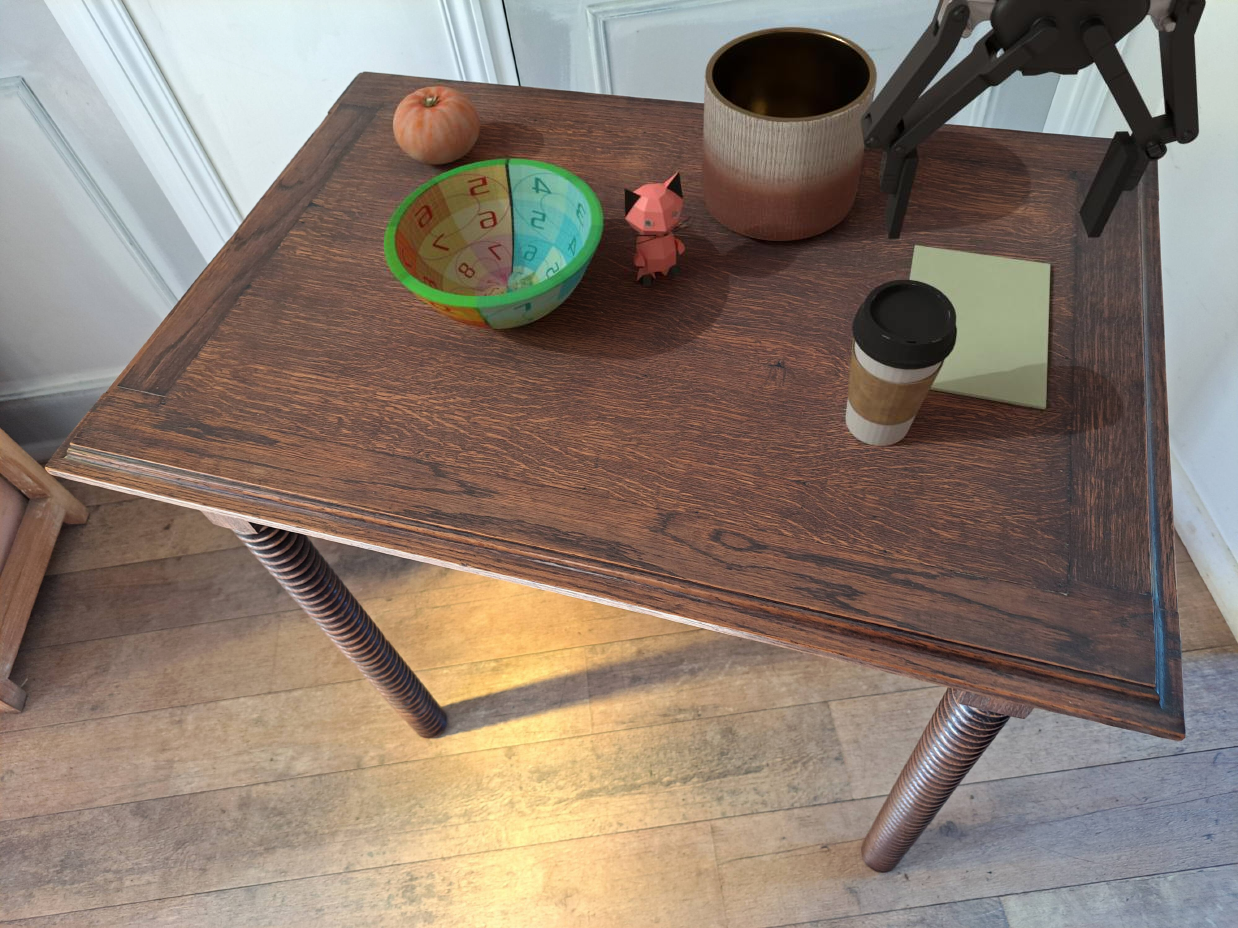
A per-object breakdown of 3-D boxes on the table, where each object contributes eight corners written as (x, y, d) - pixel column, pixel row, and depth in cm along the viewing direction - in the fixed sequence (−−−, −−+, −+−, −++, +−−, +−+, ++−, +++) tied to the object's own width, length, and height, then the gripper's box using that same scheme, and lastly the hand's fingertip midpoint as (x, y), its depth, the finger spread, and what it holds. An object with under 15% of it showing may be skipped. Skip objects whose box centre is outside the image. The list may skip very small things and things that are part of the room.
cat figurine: (638, 299, 93) (632, 210, 83) (615, 260, 96) (606, 170, 87) (697, 279, 94) (698, 189, 84) (672, 242, 98) (670, 150, 88)
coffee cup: (830, 453, 80) (856, 343, 67) (833, 383, 84) (857, 269, 72) (924, 462, 78) (967, 352, 66) (921, 391, 83) (961, 275, 71)
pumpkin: (478, 178, 107) (465, 121, 100) (394, 180, 108) (375, 123, 101) (491, 126, 113) (479, 69, 106) (411, 128, 114) (394, 71, 107)
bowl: (583, 388, 86) (572, 317, 78) (379, 360, 90) (347, 291, 82) (630, 240, 98) (625, 165, 90) (448, 221, 102) (427, 149, 94)
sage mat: (1044, 409, 81) (1046, 407, 80) (893, 383, 84) (893, 380, 83) (1049, 266, 91) (1050, 263, 91) (914, 247, 94) (915, 245, 94)
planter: (688, 239, 98) (688, 115, 85) (715, 145, 107) (719, 20, 94) (847, 256, 94) (872, 130, 81) (860, 157, 104) (884, 30, 91)
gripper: (1340, -150, 45) (1158, 190, 62) (852, -127, 47) (808, 194, 64) (1405, -85, 40) (1190, 260, 58) (865, -63, 43) (814, 262, 60)
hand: (989, 226), depth 61 cm, fingers open, 13 cm apart
